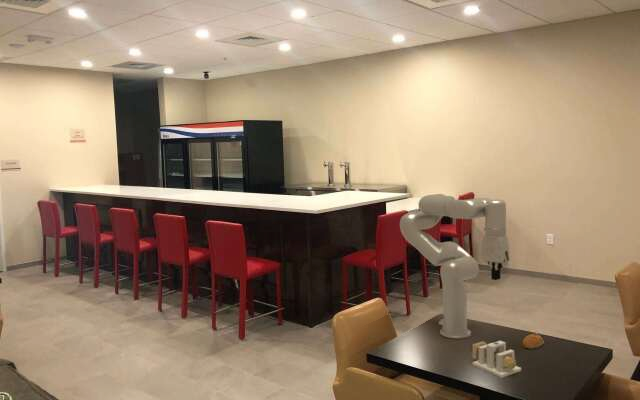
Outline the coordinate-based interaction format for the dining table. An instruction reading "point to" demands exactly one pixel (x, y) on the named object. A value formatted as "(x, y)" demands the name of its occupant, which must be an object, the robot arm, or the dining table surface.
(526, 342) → the pastry
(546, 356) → the dining table surface
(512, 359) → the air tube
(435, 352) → the dining table surface
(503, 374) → the white slotted holder
